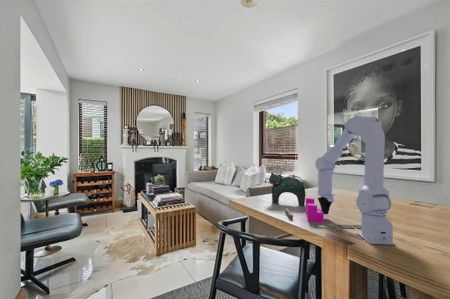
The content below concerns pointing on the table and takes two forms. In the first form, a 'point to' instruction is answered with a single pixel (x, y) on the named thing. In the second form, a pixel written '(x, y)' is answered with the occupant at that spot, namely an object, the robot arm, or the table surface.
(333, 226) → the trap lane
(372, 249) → the table surface
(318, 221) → the toy block
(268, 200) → the table surface
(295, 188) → the ceramic cat
